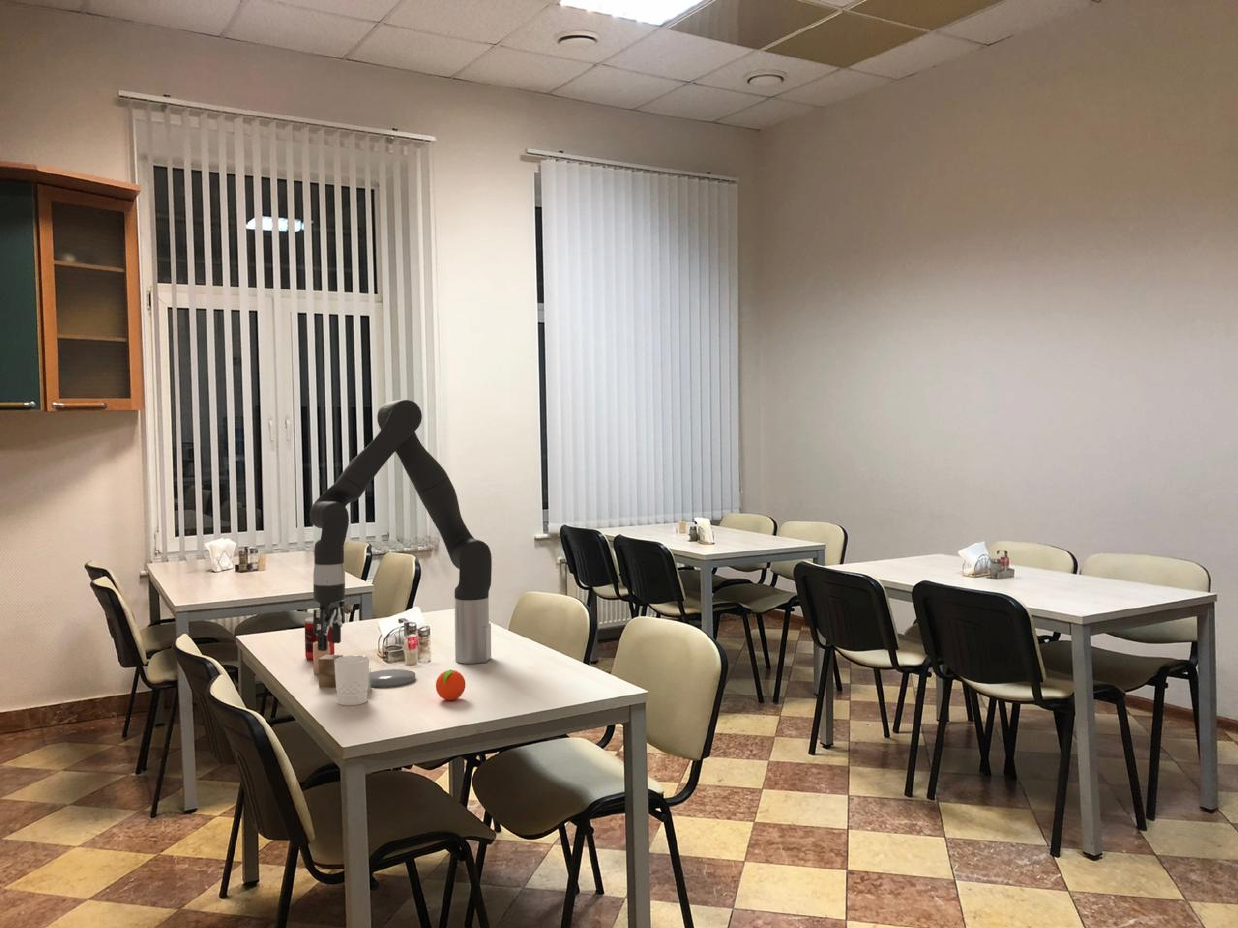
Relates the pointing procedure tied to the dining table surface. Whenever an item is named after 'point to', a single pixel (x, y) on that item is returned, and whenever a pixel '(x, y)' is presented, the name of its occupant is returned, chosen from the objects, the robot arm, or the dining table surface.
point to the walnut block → (327, 671)
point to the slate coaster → (391, 678)
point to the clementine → (450, 685)
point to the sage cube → (369, 681)
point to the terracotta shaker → (318, 656)
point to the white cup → (352, 679)
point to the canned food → (314, 639)
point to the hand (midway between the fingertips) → (329, 646)
